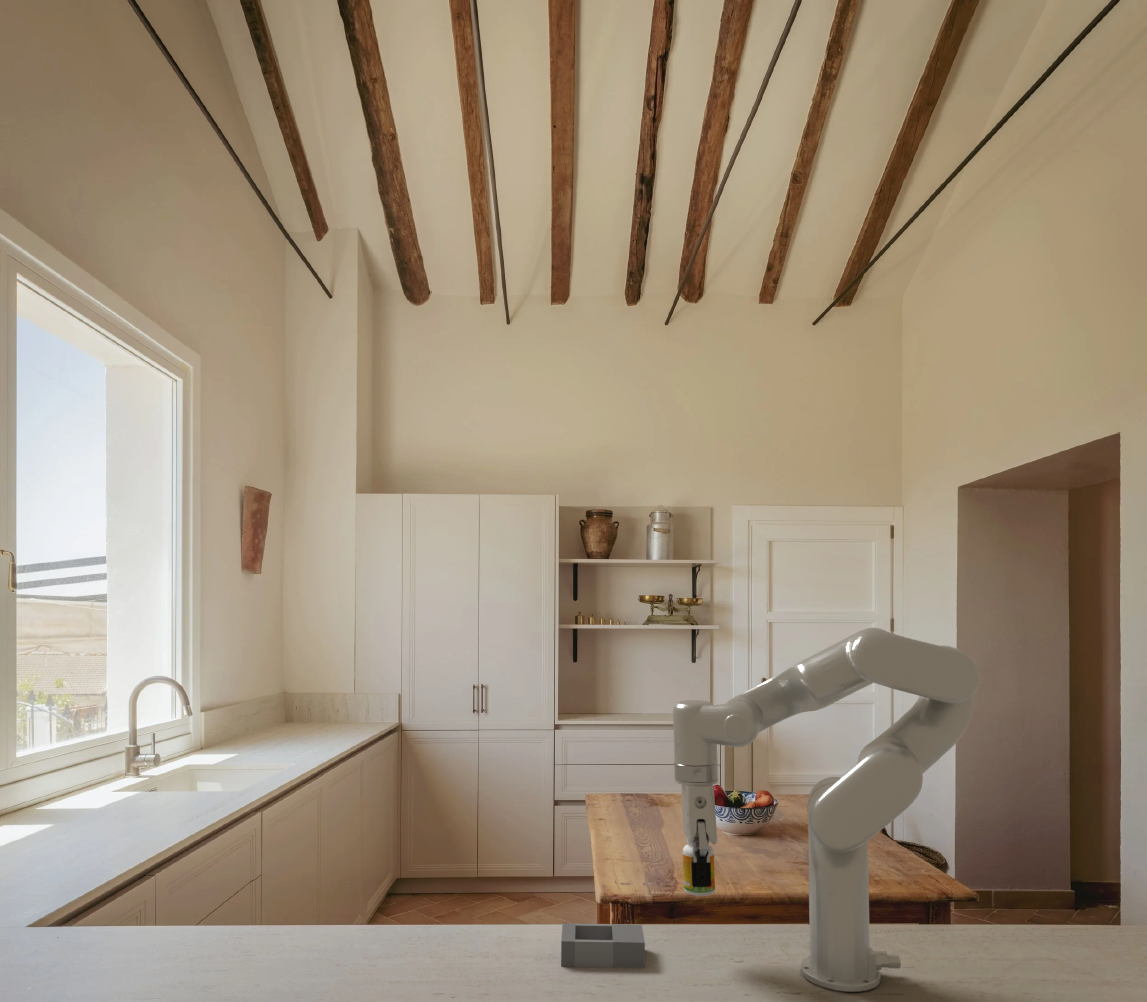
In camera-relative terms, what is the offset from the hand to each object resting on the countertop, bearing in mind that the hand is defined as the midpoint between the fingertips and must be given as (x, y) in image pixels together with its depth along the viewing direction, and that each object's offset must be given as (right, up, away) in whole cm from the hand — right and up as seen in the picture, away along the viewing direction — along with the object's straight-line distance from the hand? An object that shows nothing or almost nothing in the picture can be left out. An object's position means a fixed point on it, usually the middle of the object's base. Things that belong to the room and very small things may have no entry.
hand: (699, 879), depth 154 cm
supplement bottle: (0, -2, 0) cm, 2 cm away
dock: (-17, -13, -1) cm, 21 cm away
